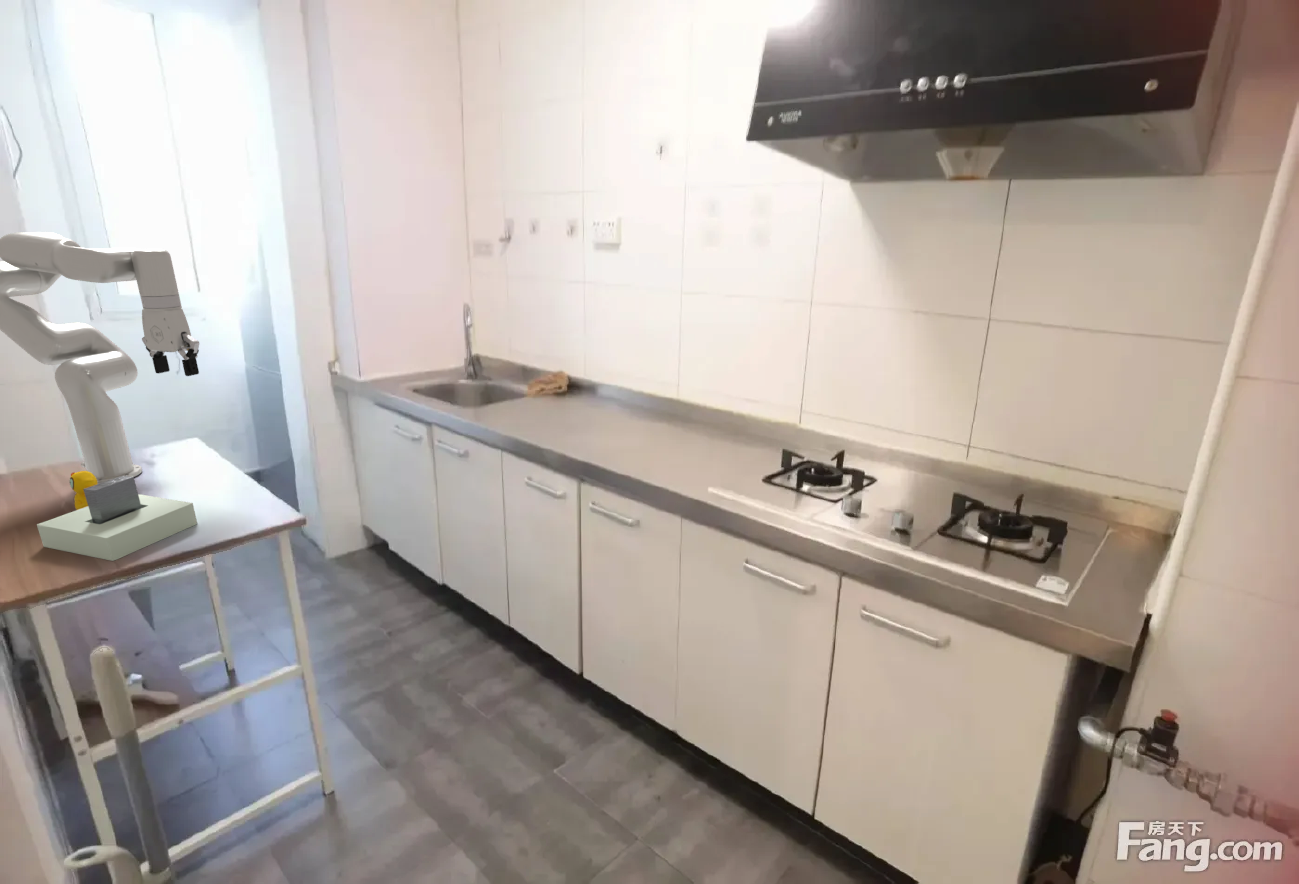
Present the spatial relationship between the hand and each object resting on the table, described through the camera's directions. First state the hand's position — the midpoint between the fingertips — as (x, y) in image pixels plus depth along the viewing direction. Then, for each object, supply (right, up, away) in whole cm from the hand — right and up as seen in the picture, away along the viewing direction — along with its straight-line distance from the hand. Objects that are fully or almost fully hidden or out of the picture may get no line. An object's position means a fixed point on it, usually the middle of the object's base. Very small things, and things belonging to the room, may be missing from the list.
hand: (177, 373), depth 162 cm
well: (+4, -37, -21) cm, 43 cm away
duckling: (-12, -33, -10) cm, 37 cm away
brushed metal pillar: (+4, -37, -21) cm, 43 cm away
